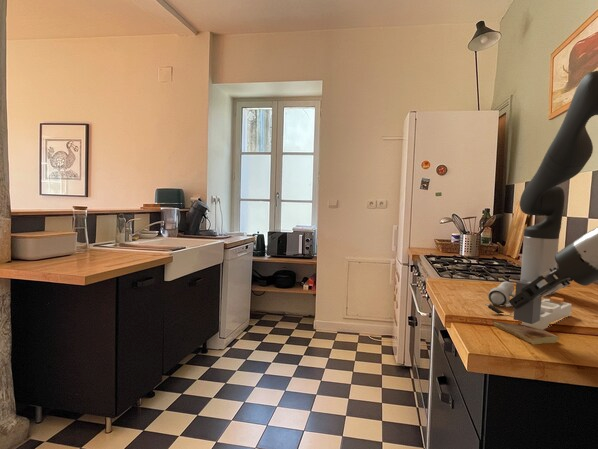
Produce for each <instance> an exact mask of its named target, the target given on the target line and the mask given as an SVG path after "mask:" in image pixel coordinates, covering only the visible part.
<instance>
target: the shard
mask: <svg viewBox="0 0 598 449" xmlns="http://www.w3.org/2000/svg"><path fill="white" fill-rule="evenodd" d="M492 322H493V327H496V328H498V329H501V330H502V331H504V332H507V333H509V334H511V335H514V336H515V337H517V338H519V339H522V340H523V341H525V342H527V343H529V344H532V345H538V344H541V345H542V344H556V342H558V341H559V339H560V337H559V336H558V335H555V334H553V333H550V332H549V331H546V329H544V330H541V329H536V328H533V327H529V326H525V325H522V324H514V323H507V322H501V321H495V320H492Z"/></svg>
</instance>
